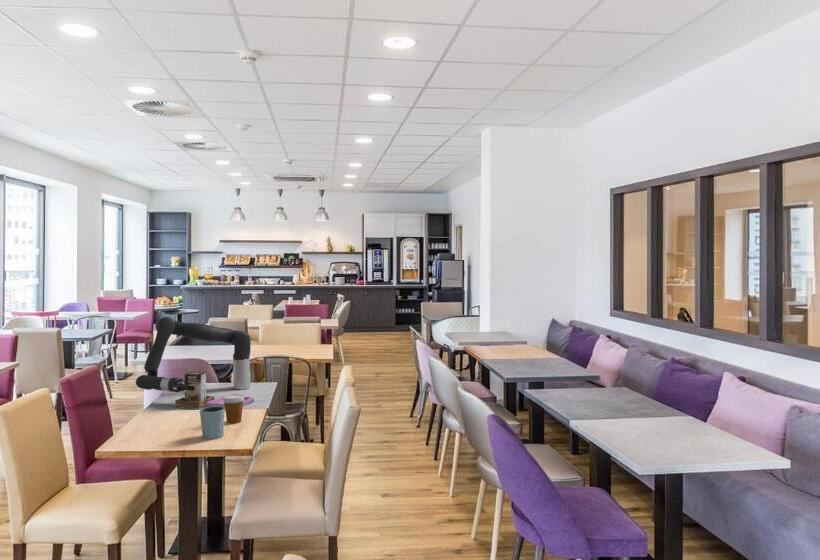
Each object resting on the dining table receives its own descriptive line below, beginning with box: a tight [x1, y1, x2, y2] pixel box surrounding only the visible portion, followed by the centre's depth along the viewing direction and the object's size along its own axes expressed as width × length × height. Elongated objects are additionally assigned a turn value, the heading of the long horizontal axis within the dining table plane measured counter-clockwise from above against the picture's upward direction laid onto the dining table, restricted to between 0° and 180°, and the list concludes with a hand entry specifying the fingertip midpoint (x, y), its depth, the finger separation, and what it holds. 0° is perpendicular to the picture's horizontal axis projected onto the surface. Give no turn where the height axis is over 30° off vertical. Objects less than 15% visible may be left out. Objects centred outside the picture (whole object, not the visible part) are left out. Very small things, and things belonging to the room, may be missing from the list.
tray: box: [206, 394, 255, 408], centre depth 308 cm, size 17×17×2 cm
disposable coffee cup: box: [223, 393, 245, 425], centre depth 276 cm, size 10×10×12 cm
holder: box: [174, 395, 215, 410], centre depth 307 cm, size 13×14×4 cm
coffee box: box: [184, 371, 207, 402], centre depth 307 cm, size 9×6×16 cm
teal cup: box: [199, 406, 226, 440], centre depth 254 cm, size 10×10×12 cm
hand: (198, 386), depth 306 cm, fingers closed on coffee box, 7 cm apart
